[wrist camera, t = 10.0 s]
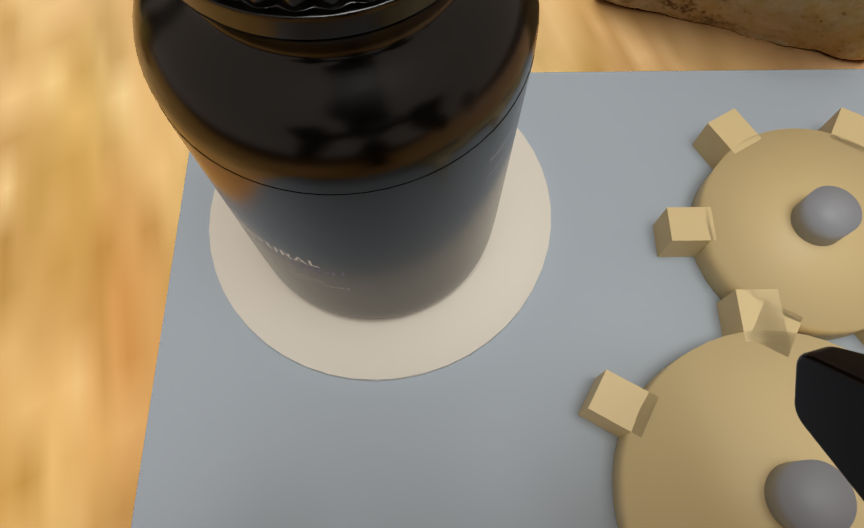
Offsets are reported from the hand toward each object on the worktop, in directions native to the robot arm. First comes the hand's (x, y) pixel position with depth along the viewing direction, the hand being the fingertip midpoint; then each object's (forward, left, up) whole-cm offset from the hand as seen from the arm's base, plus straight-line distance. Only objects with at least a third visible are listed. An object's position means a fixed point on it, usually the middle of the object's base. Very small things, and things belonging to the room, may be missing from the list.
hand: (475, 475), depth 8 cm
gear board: (+4, -3, -9) cm, 11 cm away
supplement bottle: (+8, +2, -8) cm, 11 cm away
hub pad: (+8, +2, -9) cm, 12 cm away
